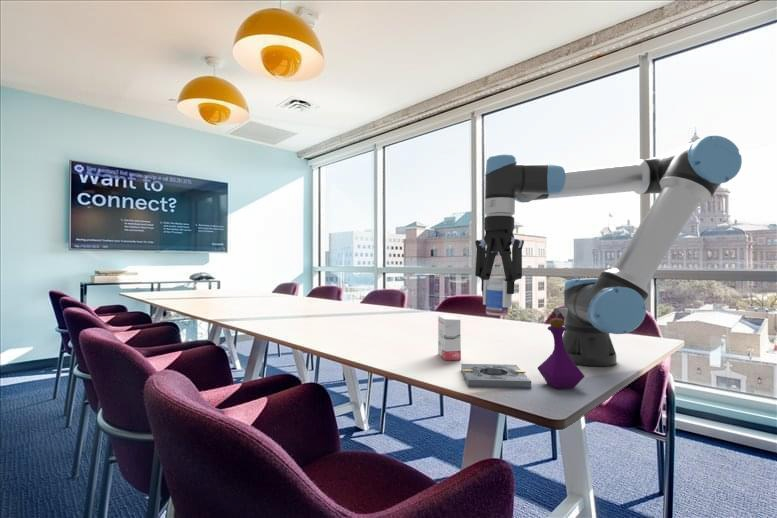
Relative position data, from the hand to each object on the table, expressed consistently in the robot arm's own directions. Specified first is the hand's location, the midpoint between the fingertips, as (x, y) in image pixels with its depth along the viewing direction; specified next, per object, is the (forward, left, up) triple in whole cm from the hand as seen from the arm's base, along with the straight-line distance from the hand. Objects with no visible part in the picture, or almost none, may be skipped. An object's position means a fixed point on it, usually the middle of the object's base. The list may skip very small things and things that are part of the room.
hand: (496, 305), depth 106 cm
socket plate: (+2, +7, -17) cm, 18 cm away
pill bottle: (0, 0, -3) cm, 3 cm away
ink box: (+11, -14, -17) cm, 25 cm away
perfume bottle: (-12, +12, -17) cm, 24 cm away
